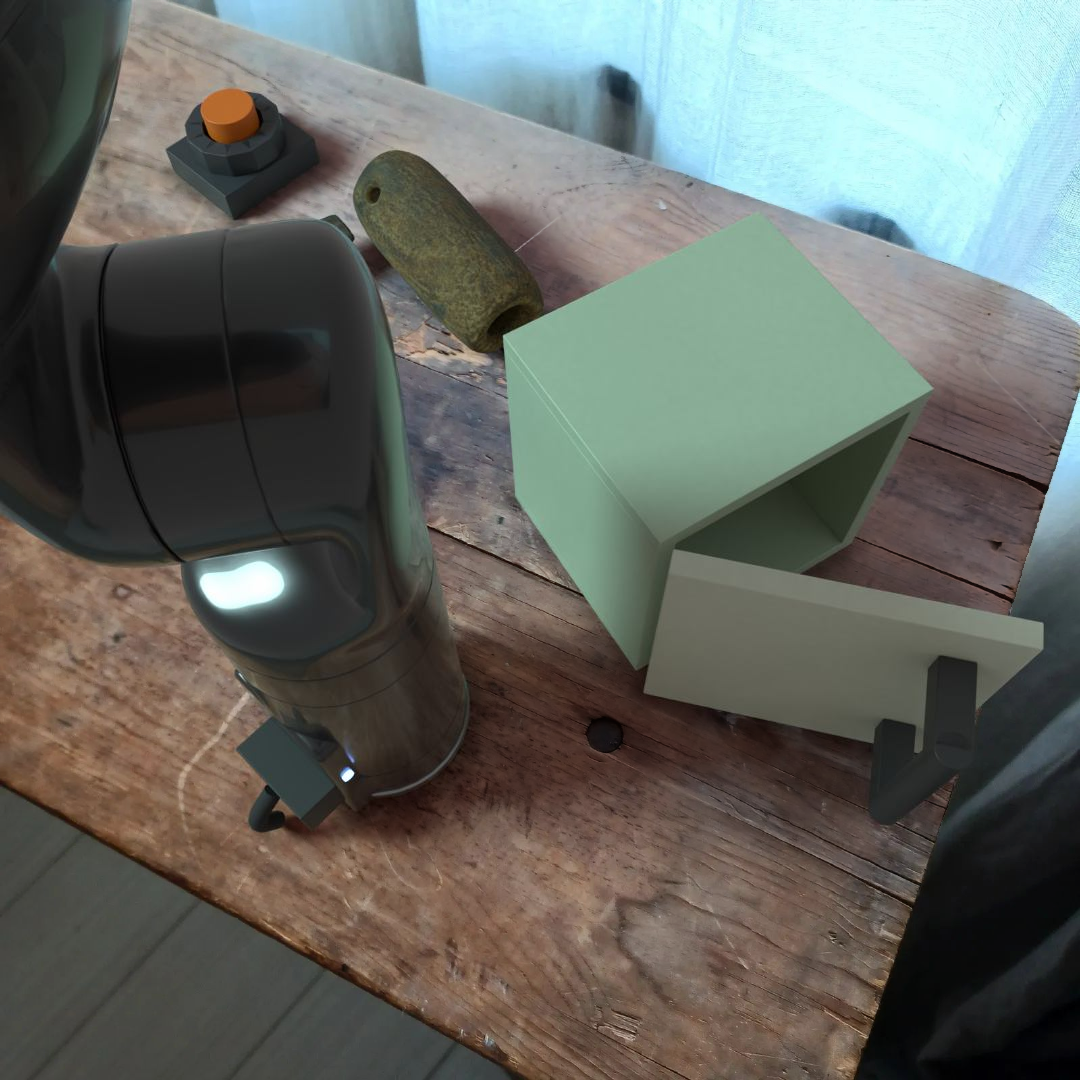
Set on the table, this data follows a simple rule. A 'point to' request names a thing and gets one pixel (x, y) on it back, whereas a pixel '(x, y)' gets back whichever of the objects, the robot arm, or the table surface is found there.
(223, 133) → the button
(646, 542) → the pale green box
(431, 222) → the stone weight
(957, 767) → the door
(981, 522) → the table surface
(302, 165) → the control block
